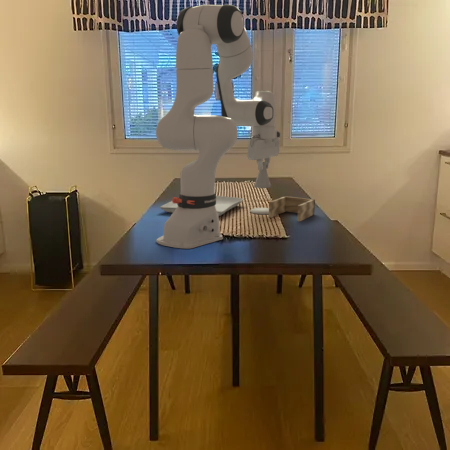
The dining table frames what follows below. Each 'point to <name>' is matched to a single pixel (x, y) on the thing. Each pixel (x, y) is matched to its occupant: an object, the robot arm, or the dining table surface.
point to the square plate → (221, 205)
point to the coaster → (260, 211)
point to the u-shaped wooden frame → (292, 207)
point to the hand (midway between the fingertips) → (263, 169)
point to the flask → (262, 178)
